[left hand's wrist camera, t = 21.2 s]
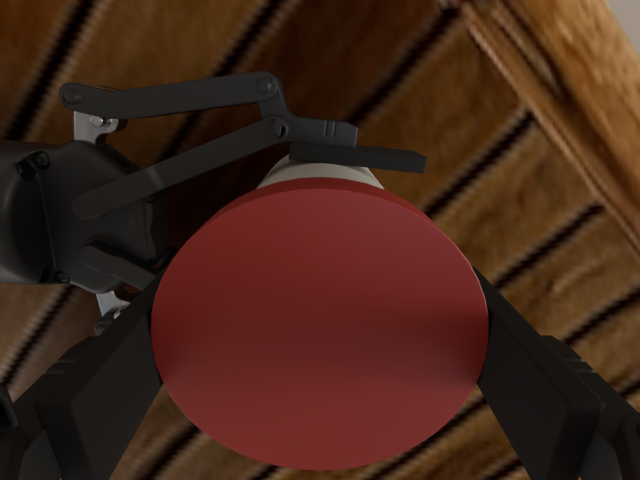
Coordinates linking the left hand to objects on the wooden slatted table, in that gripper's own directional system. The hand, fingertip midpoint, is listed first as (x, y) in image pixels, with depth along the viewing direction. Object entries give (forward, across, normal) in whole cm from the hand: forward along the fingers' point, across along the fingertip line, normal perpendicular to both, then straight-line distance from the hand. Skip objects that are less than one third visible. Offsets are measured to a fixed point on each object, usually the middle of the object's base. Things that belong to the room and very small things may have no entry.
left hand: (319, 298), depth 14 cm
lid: (-3, 0, 0) cm, 3 cm away
